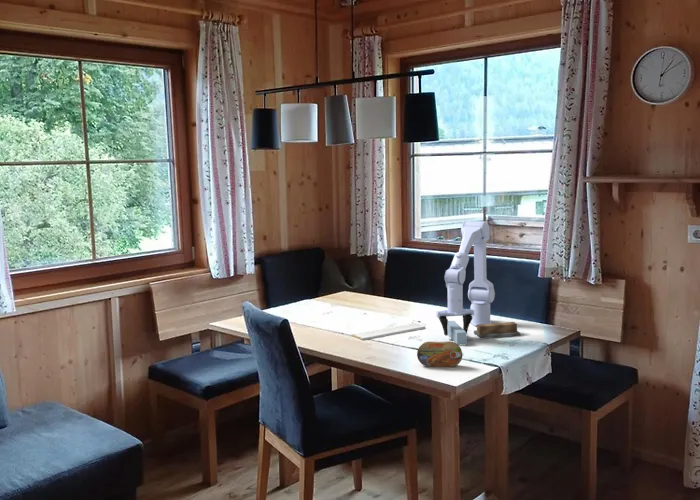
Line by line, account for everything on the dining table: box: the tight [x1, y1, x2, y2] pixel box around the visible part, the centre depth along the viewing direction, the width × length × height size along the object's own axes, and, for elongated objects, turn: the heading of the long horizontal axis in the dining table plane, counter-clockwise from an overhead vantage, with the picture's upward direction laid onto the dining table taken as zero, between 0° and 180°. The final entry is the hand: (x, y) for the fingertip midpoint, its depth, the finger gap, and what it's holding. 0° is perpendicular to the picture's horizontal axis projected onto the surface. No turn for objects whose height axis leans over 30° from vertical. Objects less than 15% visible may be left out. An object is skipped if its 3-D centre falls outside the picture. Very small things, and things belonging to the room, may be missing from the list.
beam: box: [447, 320, 467, 346], centre depth 260 cm, size 18×4×5 cm, turn 6°
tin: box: [416, 341, 463, 368], centre depth 227 cm, size 15×3×8 cm, turn 80°
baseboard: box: [351, 319, 426, 341], centre depth 274 cm, size 30×3×10 cm
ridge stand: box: [473, 321, 522, 339], centre depth 263 cm, size 16×8×4 cm, turn 98°
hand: (455, 334), depth 260 cm, fingers open, 7 cm apart
